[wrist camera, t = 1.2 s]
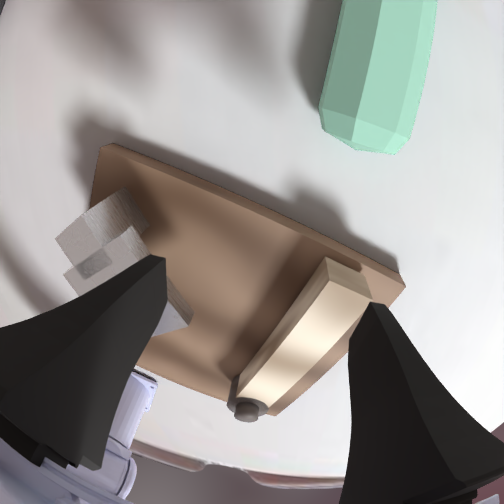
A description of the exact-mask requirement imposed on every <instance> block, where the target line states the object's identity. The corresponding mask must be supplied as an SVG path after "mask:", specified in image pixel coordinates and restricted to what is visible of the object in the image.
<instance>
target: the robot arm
mask: <svg viewBox="0 0 504 504" xmlns="http://www.w3.org/2000/svg"><path fill="white" fill-rule="evenodd" d="M167 302H168V295H167V276H166V258H164V257H160V256H156V255H152V254H150V255H148V256H146V257H144V258H143V259H141V260H139V261H138V262H136V263H135V264H133V265H131V266H130V267H128V268H127V269H125V270H123V271H122V272H120V273H118V274H117V275H115V276H114V277H112V278H110V279H109V280H107V281H106V282H104V283H102V284H100V285H99V286H97V287H95V288H93V289H92V290H90V291H88V292H86V293H85V294H83V295H81V296H79V297H78V298H76V299H74V300H72V301H70V302H68V303H66V304H64V305H61V306H59V307H57V308H55V309H53V310H50V311H48V312H45V313H43V314H40V315H38V316H35V317H33V318H30V319H28V320H25V321H22V322H18V323H15V324H12V325H8V326H5V327H1V328H0V504H134V503H132V502H129V501H127V500H125V498H126V496H127V495H128V494H129V492H130V490H131V488H132V486H133V483H134V480H135V477H136V472H137V467H136V464H135V461H134V459H133V458H131V457H130V456H131V454H132V452H131V451H130V450H129V448H130V446H131V443H132V440H133V438H134V435H135V433H136V430H137V428H138V425H139V423H140V420H141V418H142V415H143V413H144V411H145V412H149V409H150V406H151V403H152V400H153V397H154V394H155V391H156V388H157V385H158V384H157V383H156V382H154V381H152V380H150V379H148V378H146V377H143V376H141V375H139V374H137V373H135V372H133V369H134V367H135V365H136V363H137V361H138V360H139V358H140V356H141V354H142V352H143V351H144V349H145V347H146V345H147V344H148V342H149V340H150V338H151V336H152V335H153V333H154V331H155V329H156V327H157V326H158V324H159V321H160V319H161V317H162V314H163V312H164V309H165V307H166V304H167ZM348 372H349V385H350V399H351V416H352V426H351V440H350V450H349V457H348V464H347V470H346V475H345V480H344V485H343V490H342V494H341V497H340V501H339V504H472V499H474V498H476V497H477V489H478V488H480V487H483V486H485V485H486V484H489V483H491V482H493V481H494V480H496V479H498V478H500V477H502V476H503V475H504V443H503V442H502V441H500V440H499V439H498V438H496V437H495V436H493V435H492V434H491V433H490V432H488V431H487V430H486V429H485V428H484V427H483V426H482V425H480V424H479V423H478V422H477V421H476V420H475V419H474V418H473V417H472V416H471V415H470V414H469V413H468V412H467V411H466V410H465V409H464V408H463V407H462V406H461V405H460V404H459V403H458V402H457V401H456V400H455V399H454V398H453V397H452V395H451V394H450V393H449V392H448V391H447V389H446V388H445V387H444V386H443V385H442V383H441V382H440V381H439V380H438V378H437V377H436V376H435V375H434V373H433V372H432V371H431V369H430V368H429V366H428V365H427V364H426V362H425V361H424V360H423V358H422V357H421V355H420V354H419V352H418V351H417V350H416V348H415V347H414V345H413V344H412V342H411V341H410V339H409V338H408V336H407V335H406V333H405V332H404V330H403V329H402V327H401V326H400V324H399V323H398V321H397V320H396V319H395V317H394V316H393V314H392V313H391V311H390V310H389V309H388V308H387V306H386V305H385V304H381V303H376V302H369V304H368V306H367V308H366V310H365V312H364V313H363V315H362V317H361V319H360V321H359V323H358V324H357V326H356V328H355V330H354V332H353V333H352V335H351V337H350V339H349V349H348ZM476 504H499V495H498V494H496V495H494V496H492V497H489V498H487V499H485V500H483V501H480V502H478V503H476Z"/></svg>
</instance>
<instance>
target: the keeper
mask: <svg viewBox="0 0 504 504" xmlns="http://www.w3.org/2000/svg"><path fill="white" fill-rule="evenodd" d="M149 226H150V224H149V222H148V221H147V219H146V218H145V216H144V214H143V213H142V211H141V210H140V208H139V207H138V205H137V204H136V202H135V200H134V199H133V197H132V196H131V194H130V192H129V191H128V189H127V188H126V186H125V187H123V188H122V189H120V190H118V191H117V192H115V193H114V194H112V195H111V196H109V197H107V198H106V199H104V200H103V201H101V202H100V203H98V204H97V205H95V206H94V207H92V208H91V209H89V210H88V211H87V212H85V213H84V214H82V215H81V216H80V217H79V218H77V219H76V220H75V221H74V222H73V223H72V224H71V225H69V226H68V227H67V228H66V229H65V230H64V231H63V232H62V233H61V234H60V235H59V236H57V237H56V238H55V239H56V241H57V243H58V244H59V246H60V247H61V249H62V250H63V251H64V253H65V254H66V256H67V257H68V259H69V260H70V262H71V263H72V264H73V266H72V267H70V268H69V269H68V270H67V271H66V272H65V273H64V274H63V275H64V277H65V278H66V280H67V281H68V282H69V284H70V285H71V286H72V288H73V289H74V290H75V291H76V293H77V294H78V295H79V296H81V295H83V294H85V293H86V292H88V291H90V290H92V289H93V288H95V287H97V286H99V285H100V284H102V283H104V282H106V281H107V280H109V279H110V278H112V277H114V276H115V275H117V274H118V273H120V272H122V271H123V270H125V269H127V268H128V267H130V266H131V265H133V264H135V263H136V262H138V261H139V260H141V259H143V258H144V257H146V256H148V255H150V254H151V253H150V251H149V250H148V248H147V247H146V245H145V244H144V242H143V241H142V240H141V238H140V237H139V236H140V235H141V234H142V233H143V232H144V231H145V230H146V229H147V228H148V227H149ZM166 276H167V275H166ZM167 295H168V302H167V304H166V307H165V309H164V312H163V314H162V317H161V319H160V321H159V324H158V326H157V327H156V329H155V331H154V333H153V335H152V336H151V337H153V336H157V335H160V334H164V333H167V332H171V331H174V330H178V329H181V328H185V327H188V326H189V324H190V322H191V320H192V317H193V315H194V311H193V309H192V308H191V307H190V305H189V304H188V303H187V302H186V300H185V299H184V298H183V296H182V295H181V294H180V292H179V291H178V290H177V288H176V287H175V286H174V284H173V283H172V282H171V280H170V279H169V278H168V276H167Z"/></svg>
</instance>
